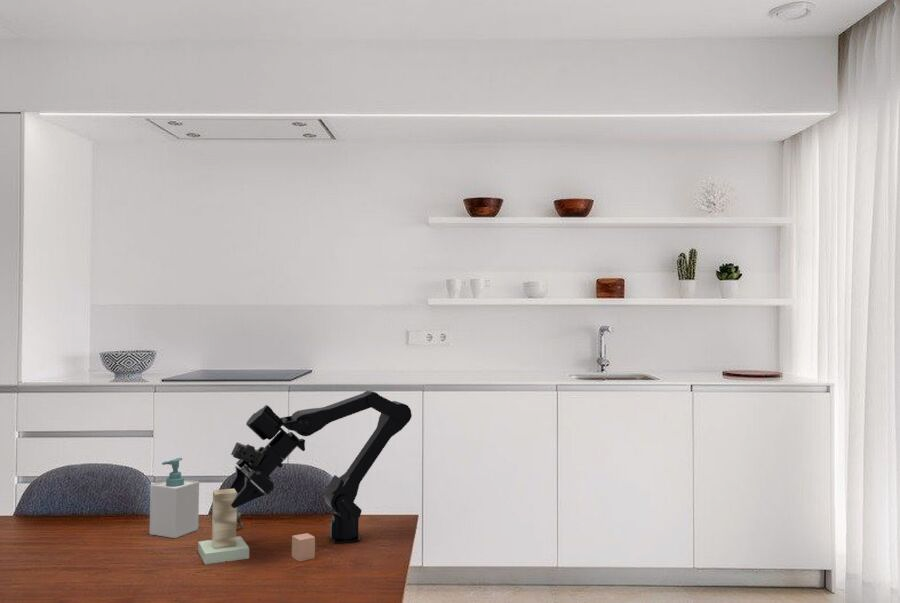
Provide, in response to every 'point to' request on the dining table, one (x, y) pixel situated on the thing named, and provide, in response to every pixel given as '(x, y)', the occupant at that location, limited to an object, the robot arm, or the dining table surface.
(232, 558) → the sage block
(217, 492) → the birch pillar
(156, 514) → the soap bottle
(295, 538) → the pinkish beige block
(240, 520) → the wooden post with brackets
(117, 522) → the dining table surface
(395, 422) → the robot arm
